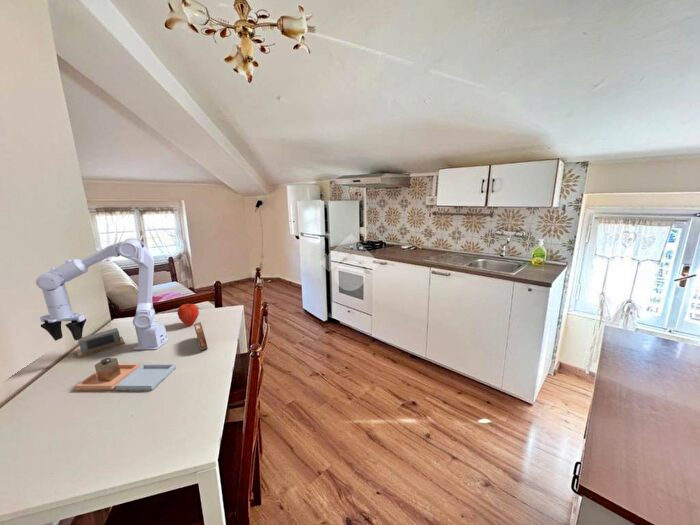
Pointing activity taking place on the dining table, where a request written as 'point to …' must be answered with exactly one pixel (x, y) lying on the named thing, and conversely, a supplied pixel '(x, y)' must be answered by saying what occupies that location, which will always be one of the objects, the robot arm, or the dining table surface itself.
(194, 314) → the apple
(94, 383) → the terracotta tray
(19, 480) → the dining table surface
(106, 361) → the wooden block with knob
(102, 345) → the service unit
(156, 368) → the blue-grey tray
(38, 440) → the dining table surface
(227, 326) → the dining table surface
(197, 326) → the tin
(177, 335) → the dining table surface
